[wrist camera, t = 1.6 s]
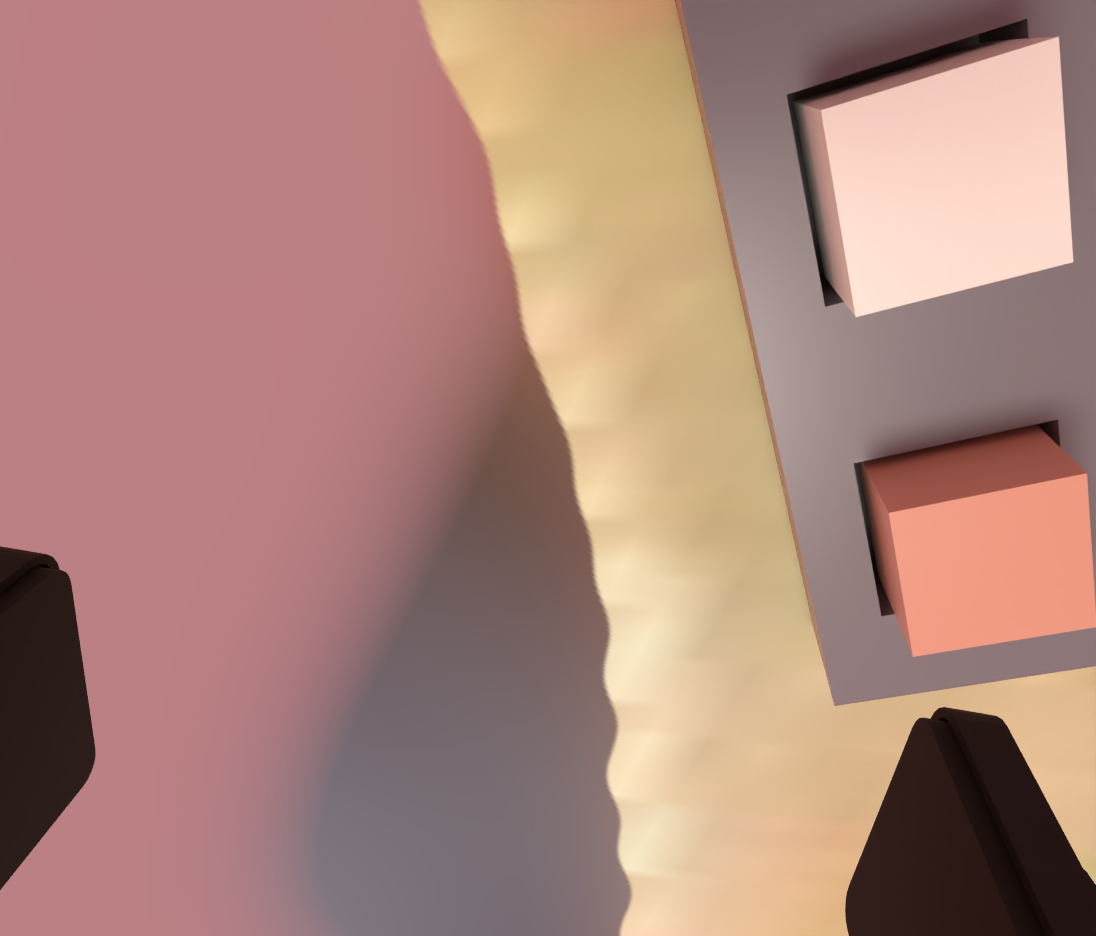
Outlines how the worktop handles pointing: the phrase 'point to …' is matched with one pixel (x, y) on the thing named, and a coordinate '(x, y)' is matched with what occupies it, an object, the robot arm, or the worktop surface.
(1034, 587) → the terracotta key
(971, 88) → the ivory key
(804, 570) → the key block
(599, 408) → the worktop surface
